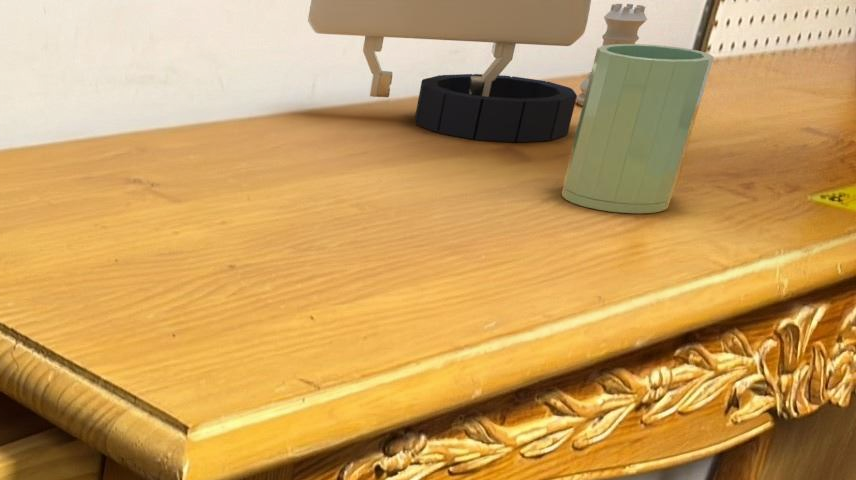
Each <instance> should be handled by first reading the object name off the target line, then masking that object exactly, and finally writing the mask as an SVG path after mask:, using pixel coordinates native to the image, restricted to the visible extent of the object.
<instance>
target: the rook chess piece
mask: <svg viewBox="0 0 856 480" xmlns="http://www.w3.org/2000/svg"><path fill="white" fill-rule="evenodd" d="M645 10H646V6H644V5H643V4H637V5H636V6H635V7H634V3H626V5H625V6H623V3H612V4H611V6H610V11H608V12H607V13H606V14H605V15H604V16H603V19H604V21H605V24H606V25H607V26H606V31H605V33H604V34H603V35H601V38H602V39H603V41H602V45H601V46H604V45H613V44H636V42H637V41H639V39H640V37H639V36H638V35H639V34H638V32H639V29H640V27H642V25H644V23H645V22H646V21H648V18H647V16H646V14H645ZM587 74H588V76H587V77H586V78H585V79H584V80H582V81H581V83H580V85H579V90H580V91H581V93H580V94H578V95H577V98H576V102H577V104H578V105H579V106H580V107H583V103H584V99H585V95H586V91H587V87H588V83H589V79H590V75H591V71H590V72H588V73H587Z"/></svg>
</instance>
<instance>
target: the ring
mask: <svg viewBox="0 0 856 480" xmlns="http://www.w3.org/2000/svg"><path fill="white" fill-rule="evenodd" d="M483 74H484V73H483ZM483 74H482V73H474V74H473V73H461V74H460V73H459V74H442V75H441V74H439V75H435V76H431V77H427V78H423V79H422V80H421V83H420V88H419V94H418V98H417V99H418V100H417V105H416V109H415V114H414V115H415V116H414V119H415V120H414V121H415V125H416V126H417V127H421V128H424V129H427V130H429V131H431V132H434V133H436V134H440V135H444V136H445V135H446V136H451V137H457V138H463V139H467V140H475V141H486V142H488V141H489V142H499V143H535V142H549V141H554V140H557V139H559V138H563V137H565V136H567V135H568V133H569V129H570V126H571V122H572V117H573V113H574V109H575V105H576V102H577V99H576V98H577V96H578V95H577V93H576V92H575V90H574V89H573V88H571V87H569V86H564V85H562V84H557V83H555V82H551V81H546V80H542V79H535V78H527V77H526V78H525V77H520V76H511V75H501V74H499V75H498V77H497V78H496V79H495V80H494V81H492V84H491V88H490V93H489V97H485V96H478V95H472V94H467V93H468V90H469V89H470V86H469V83H470V78H471V76H478V77H482V75H483Z"/></svg>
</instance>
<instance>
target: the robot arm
mask: <svg viewBox="0 0 856 480" xmlns="http://www.w3.org/2000/svg"><path fill="white" fill-rule="evenodd" d="M591 2H592V0H310V6H309V9H308V16H307V22H308V24H309V26H310V28H311V29H312V30H313V32H314V33H315V34H319V35H337V36H355V37H356V36H357V37H358V36H359V37H364V41H363V48H362V52H363V55H364V57H365V60H366V62H367V65H368V67H369V70H370V72H371V74H372V78H371V83H370V89H369V97H373V98H389V97H390V92H391V85H392V82H393V81H392V80H393V71H386V70H382V67H381V64H380V61H379V59H378V56H377V54H376V53H380V52H381V51H382V49H383V44H384V38H394V39H396V38H397V39H398V38H399V39H414V40H415V39H416V40H437V41H456V42H457V41H459V42H475V43H476V42H477V43H478V42H479V43H492V48H491V54H492V56H493V57H494V58H495V59H494V60H493V61H492V62H491V63H490V65H489V66H488V67H487V69H485V72H483V75H482V77H478V76H471V78H470V83H469V86H470V89H469V90H468V93H467V94H472V95H478V96H485V97H489V93H490V88H491V84H492V81H494V80H495V79H496V78H497V77H498V75H501V74H502V72H503V71H504V70H505V68H506V67H507V66H508V65H509V64H510V63H511V62H512V60H513V58H514V53H515V49H516V45H518V44H519V45H535V46H538V45H539V46H557V47H570V46H572V45H573V44H575V43H576V42H577V41H578V40H579V39H580V38H581V37H582V36H583V35H584V34H585V32H586V28H587V24H588V20H589V15H590V10H591Z"/></svg>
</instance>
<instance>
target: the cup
mask: <svg viewBox="0 0 856 480" xmlns="http://www.w3.org/2000/svg"><path fill="white" fill-rule="evenodd" d="M714 58H715V57H714V56H713V55H712V54H710V53H708V52H705V51H701V50H698V49H691V48H686V47H679V46H670V45H659V44H658V45H657V44H644V43H643V44H640V43H639V44H638V43H635V44H613V45H604V46H602V45H601V46H599V47H597V49H596V51H595V56H594V60H593V65H592V68H591V71H590V72H591V75H590V79H589V83H588V87H587V91H586V95H585V99H584V103H583V106H581V111H580V115H579V118H578V119H579V120H578V123H577V127H576V131H575V135H574V139H573V143H572V147H571V151H570V154H569V159H568V163H567V167H566V170H565V174H564V179H563V183H562V185H563V186H562V190H561V197H562V198H563V199H565V201H567V202H569V203H571V204H574V205H577V206H580V207H584V208H587V209H591V210H597V211H603V212H611V213H619V214H637V215H638V214H639V215H641V214H642V215H643V214H654V213H660V212H664V211H666V210H667V209H668V208H669V207H670V202H671V199H672V198H673V196H674V192H675V189H676V186H677V182H678V179H679V176H680V172H681V169H682V165H683V162H684V159H685V155H686V151H687V148H688V145H689V142H690V138H691V135H692V131H693V128H694V125H695V121H696V118H697V116H698V112H699V109H700V105H701V102H702V98H703V95H704V91H705V88H706V85H707V83H708V78H709V74H710V71H711V68H712V65H713V61H714Z"/></svg>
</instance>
